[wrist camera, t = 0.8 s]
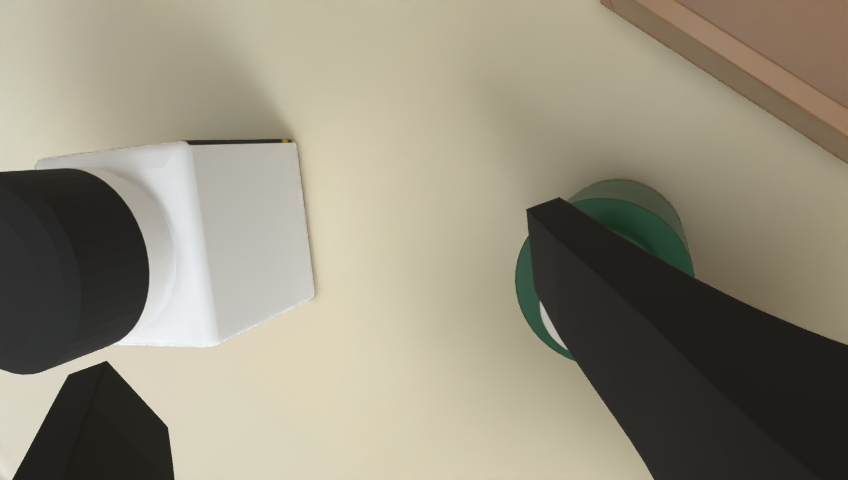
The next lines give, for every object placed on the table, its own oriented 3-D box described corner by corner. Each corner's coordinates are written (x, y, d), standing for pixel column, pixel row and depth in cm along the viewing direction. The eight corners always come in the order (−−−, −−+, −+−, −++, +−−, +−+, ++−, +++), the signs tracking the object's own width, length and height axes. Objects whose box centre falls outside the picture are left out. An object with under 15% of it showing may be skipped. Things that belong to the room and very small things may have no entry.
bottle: (713, 230, 22) (750, 296, 13) (628, 326, 23) (611, 443, 14) (604, 154, 22) (571, 166, 14) (529, 251, 24) (457, 318, 15)
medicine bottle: (299, 138, 27) (45, 141, 16) (319, 298, 28) (92, 409, 17) (169, 153, 29) (-128, 165, 18) (191, 300, 30) (-78, 396, 19)
